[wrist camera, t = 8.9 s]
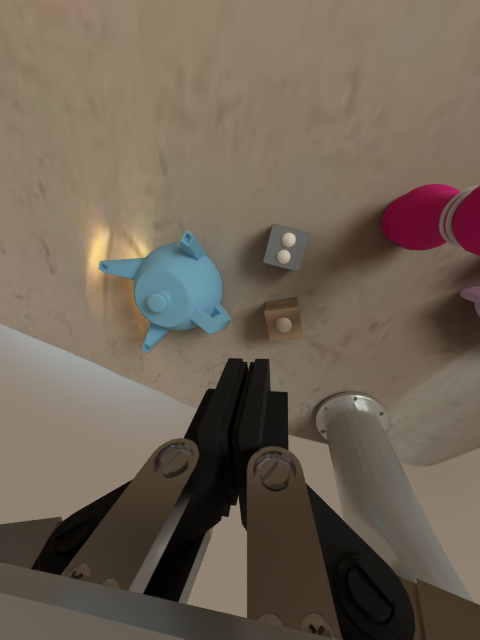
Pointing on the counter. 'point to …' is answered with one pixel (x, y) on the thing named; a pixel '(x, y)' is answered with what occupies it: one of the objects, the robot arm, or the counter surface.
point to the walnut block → (283, 319)
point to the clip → (472, 296)
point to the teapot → (174, 289)
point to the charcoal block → (286, 247)
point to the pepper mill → (435, 218)
